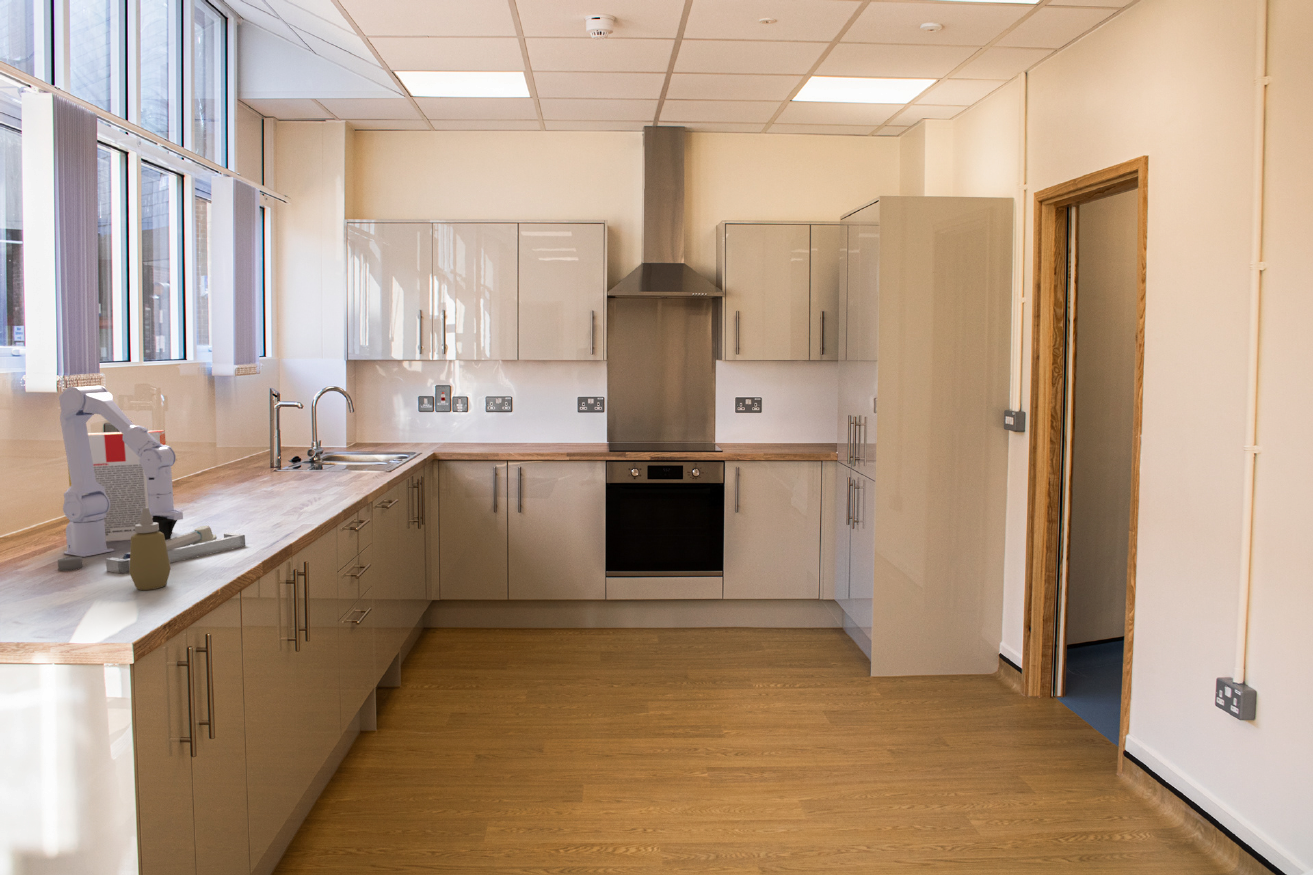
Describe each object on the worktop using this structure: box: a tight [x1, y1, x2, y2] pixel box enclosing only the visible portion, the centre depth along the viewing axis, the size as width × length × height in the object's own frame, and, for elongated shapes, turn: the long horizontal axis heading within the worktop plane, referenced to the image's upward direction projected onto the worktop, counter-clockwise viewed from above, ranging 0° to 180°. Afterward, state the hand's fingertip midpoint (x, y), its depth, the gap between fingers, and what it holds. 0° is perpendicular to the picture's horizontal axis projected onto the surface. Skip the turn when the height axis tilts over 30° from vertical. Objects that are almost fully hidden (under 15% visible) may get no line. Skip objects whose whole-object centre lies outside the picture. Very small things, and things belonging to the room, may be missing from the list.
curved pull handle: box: [105, 532, 246, 575], centre depth 230 cm, size 7×33×3 cm, turn 151°
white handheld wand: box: [122, 525, 218, 559], centre depth 232 cm, size 5×7×25 cm
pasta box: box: [67, 429, 167, 542], centre depth 256 cm, size 23×8×30 cm, turn 109°
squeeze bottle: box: [129, 508, 172, 591], centre depth 201 cm, size 8×8×18 cm
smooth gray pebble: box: [57, 556, 84, 572], centre depth 221 cm, size 5×5×2 cm
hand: (164, 545), depth 233 cm, fingers closed
